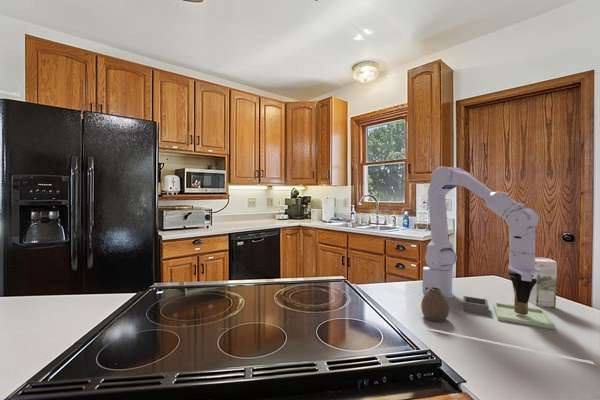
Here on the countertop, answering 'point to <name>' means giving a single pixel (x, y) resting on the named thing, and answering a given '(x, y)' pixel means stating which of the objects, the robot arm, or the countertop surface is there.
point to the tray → (523, 316)
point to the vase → (435, 305)
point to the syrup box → (544, 283)
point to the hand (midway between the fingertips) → (521, 300)
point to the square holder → (475, 305)
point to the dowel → (520, 307)
